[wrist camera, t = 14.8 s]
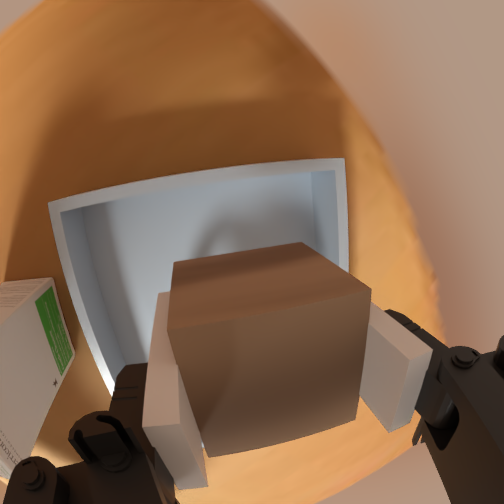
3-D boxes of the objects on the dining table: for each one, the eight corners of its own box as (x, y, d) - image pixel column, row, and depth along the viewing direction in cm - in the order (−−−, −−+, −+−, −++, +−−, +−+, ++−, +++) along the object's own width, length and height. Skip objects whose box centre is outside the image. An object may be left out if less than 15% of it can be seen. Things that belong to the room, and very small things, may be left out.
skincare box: (77, 354, 24) (29, 488, 9) (25, 354, 22) (-36, 466, 8) (53, 272, 21) (-50, 384, 7) (-1, 277, 20) (-102, 368, 5)
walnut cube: (173, 261, 11) (166, 329, 6) (301, 241, 12) (371, 289, 7) (197, 368, 12) (208, 457, 8) (305, 346, 13) (354, 419, 9)
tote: (145, 419, 27) (144, 453, 22) (73, 195, 20) (47, 202, 15) (320, 384, 31) (339, 413, 26) (314, 158, 24) (344, 157, 19)
